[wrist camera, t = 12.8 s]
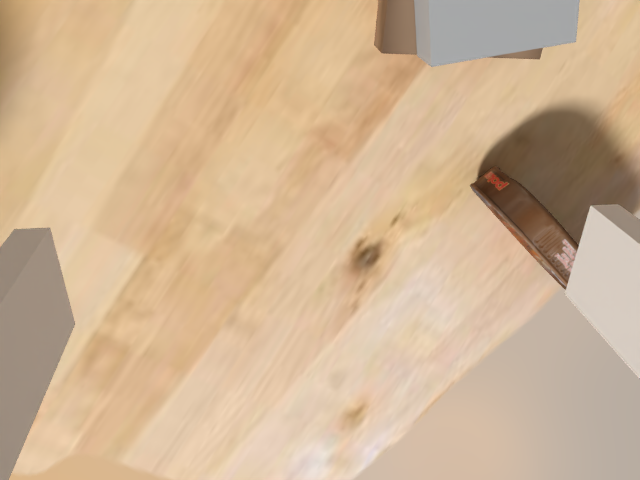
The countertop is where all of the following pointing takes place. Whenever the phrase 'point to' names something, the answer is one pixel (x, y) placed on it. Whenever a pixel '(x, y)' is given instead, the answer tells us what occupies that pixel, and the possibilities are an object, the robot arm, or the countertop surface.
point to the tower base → (412, 30)
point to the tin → (528, 223)
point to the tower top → (490, 27)
